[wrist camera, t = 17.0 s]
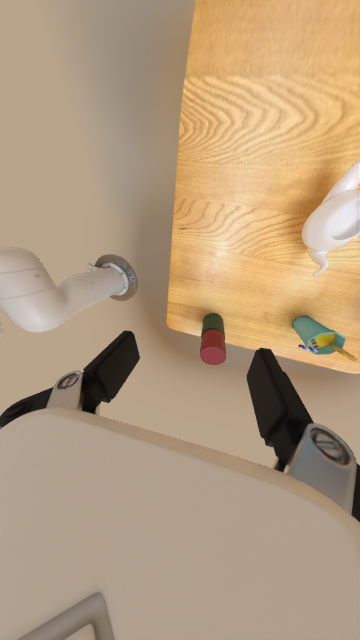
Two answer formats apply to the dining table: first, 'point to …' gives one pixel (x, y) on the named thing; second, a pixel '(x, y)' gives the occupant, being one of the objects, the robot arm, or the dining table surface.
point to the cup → (319, 337)
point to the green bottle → (213, 323)
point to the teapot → (334, 219)
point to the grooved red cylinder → (213, 347)
